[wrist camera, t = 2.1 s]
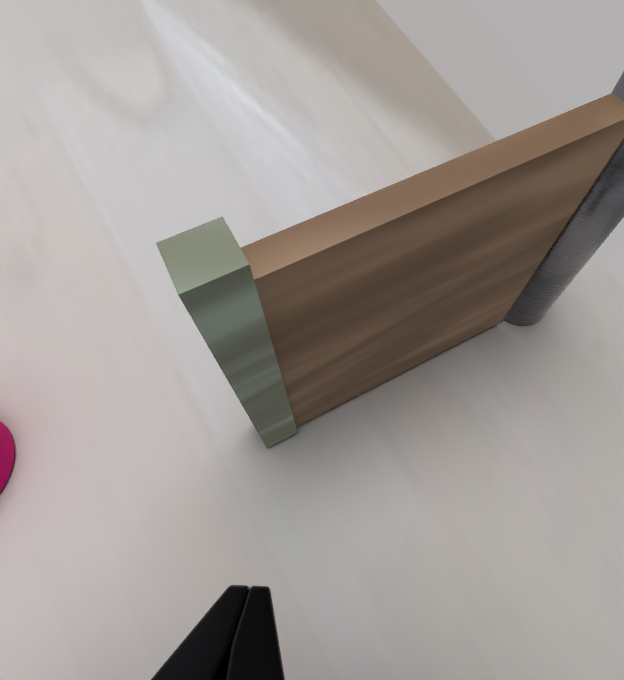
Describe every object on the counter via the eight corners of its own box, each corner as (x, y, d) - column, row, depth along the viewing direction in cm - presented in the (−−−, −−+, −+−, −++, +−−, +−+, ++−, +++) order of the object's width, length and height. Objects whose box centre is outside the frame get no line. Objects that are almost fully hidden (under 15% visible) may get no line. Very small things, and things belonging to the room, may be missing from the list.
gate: (504, 325, 25) (670, 84, 12) (267, 447, 22) (178, 294, 10) (485, 303, 26) (622, 56, 13) (253, 418, 23) (155, 243, 10)
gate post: (562, 314, 25) (880, -46, 11) (514, 339, 25) (782, -6, 10) (521, 273, 27) (748, -90, 12) (476, 295, 26) (656, -58, 12)
